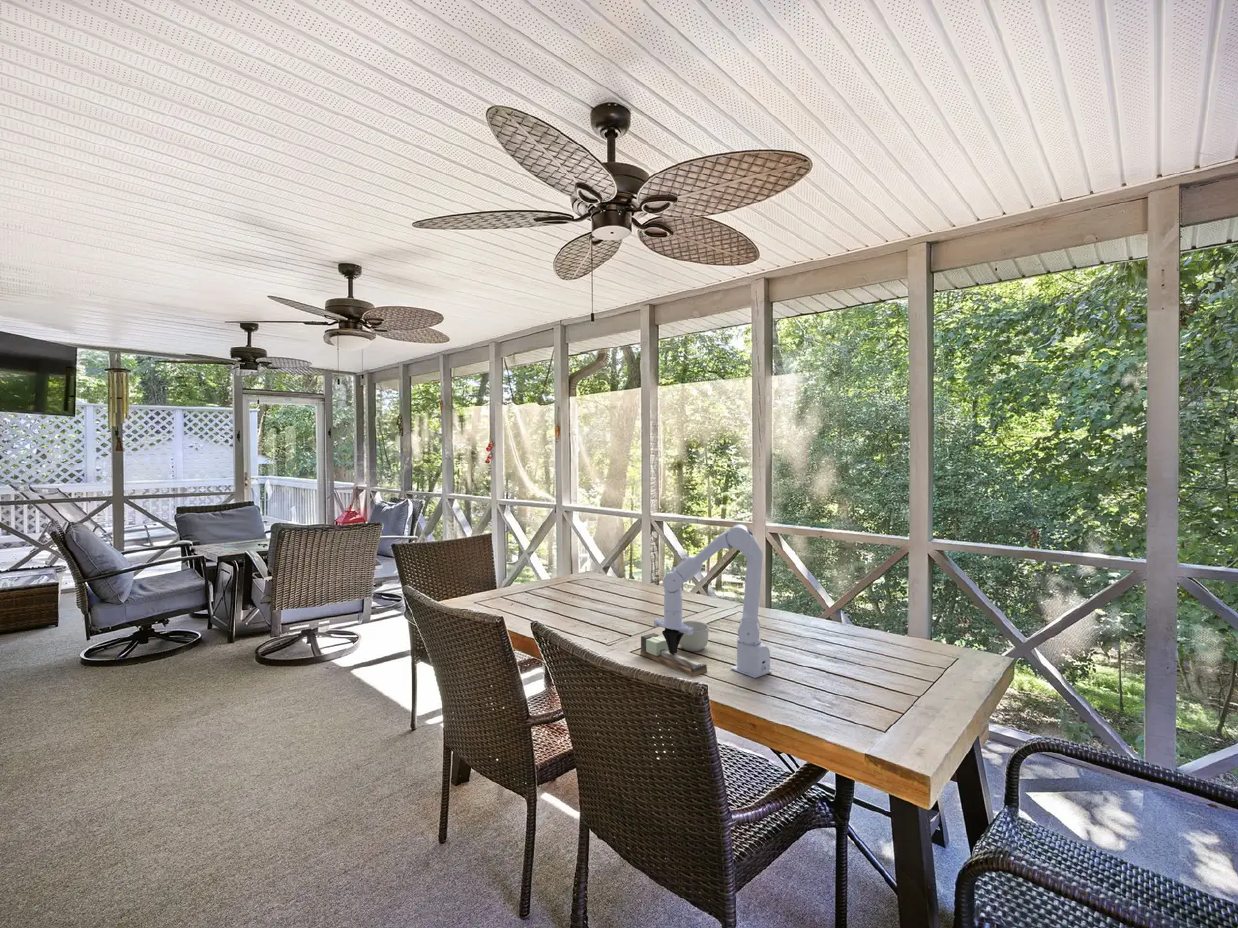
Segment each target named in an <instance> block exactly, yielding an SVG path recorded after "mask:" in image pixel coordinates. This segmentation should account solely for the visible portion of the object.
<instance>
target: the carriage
mask: <svg viewBox="0 0 1238 928" xmlns="http://www.w3.org/2000/svg"><path fill="white" fill-rule="evenodd" d="M660 650H666V651H668V652H669V649H668V645H667V642H666V639H665V637H662V636H660V635H659V636H657V637H651V638H649V639H646V652H648V653H650V654H653V655H655V656H658V655H660Z"/></svg>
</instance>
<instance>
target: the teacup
mask: <svg viewBox="0 0 1238 928" xmlns="http://www.w3.org/2000/svg"><path fill="white" fill-rule="evenodd" d="M682 622H683V624H685V625H687V626H689V627H691V628H693V634H692V635H687V634H685V633H684V634H683V636H682V638H681V640H680V642H679V645H678V646H680V647H681V648H682V649H684V650H685V651H688V652H700V651H702V650H703V649H705V647H707V645H708V642H709V631H710V630H709V629H710V625H708V624H707V623H705V622H701V621H697V620H682Z"/></svg>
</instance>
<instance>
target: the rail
mask: <svg viewBox="0 0 1238 928" xmlns="http://www.w3.org/2000/svg"><path fill="white" fill-rule="evenodd" d="M657 636H660V635H659V634H657V633H656V632H655V633H654V632H653V633H649V634H644V635H641V636H640V653H639V654H640V655H641V656H643V657H645V658H648V659H650V660H653V661H655V662H657V663H661V664H662V665H665V666H667V667H670V668H673V669H675V670H677V671H680V672H682V673H685V674H686V675H689V676H691V677H696V676H697V675H700V674H704V673H707V672H708V667H707V664H706V663H699V662H697V661H694V660H692V659H689V658H687V657H683V656H682V655H678V654H677V653H675V654H670V653H669V652H668V651H666V650H660V655H658V656H655V655H653V654H650V653H648V652H646V639H649V638H651V637H657Z"/></svg>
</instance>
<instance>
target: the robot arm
mask: <svg viewBox="0 0 1238 928" xmlns="http://www.w3.org/2000/svg"><path fill="white" fill-rule="evenodd" d="M730 547H732V548H733V549H736V550H738V551H739V552H741V554H743V556H744V557H746V570H745V571H746V572H745V583H744V595H743V596H744V597H743V609H742V616H741V619H740V620H739V625H738V626H739V627H738V629H737V636H738V637H737V638H736V665H734V666H731V667H730V669H731V671H735V672H738V673H741V674H743V675H746V676H749V677H751V678H753V679H755V678H759V677H761V676H765V675H767V674H771V673H772V669H771V666H770V665H771V652H770V649H769V647H768V646H766V645H764V643H763V642H762V638H760V630H761V623H760V620H759V607H760V606H759V605H760V594H761V581H762V569H763V557H764V553H763V549H762V548H761V545H760V543H759V542H758V540H757V539H756V537H755V535H754V532H753V531H751V529H750V528H748V527H747V526H746V525H744V524H739V523H738V524H735V525H733V526H732V527H731V528H730V529H727V530H726V531H724V532H722V533H721V534H719V535H718V536H716V537H715V538H714V539H713V540H712V541H711V542H709V543H708V545H706V546H705V547H704V548H703V549H702V550H700V552H698V553H697V554H696V555H690V554H689V555H688V556H686V555H685V556H684V557H682V559H681V562H680V563H678V564H677V565H676V566H673V567H671V571H669V572H668V573H666V574H665V575H664V577H663V579H662V586H663V588H664V590H663V592H664V594H663V619H661V618H655V619H653V627H659V628H663V629H664V630H662V631H661V633H662V635H663V638H665V639H666V642H667V645H668V649H669V653H670V654H677V652H678V649H679V646H680V645H679V642H680V640H681V638H682V636H683V634H684V633H685V634H687V635H692V634H693V628H691V627H689V626H687V625H685V624H683V593H682V592H683V591H682V590H683V588H682V586H683V585H684V583H687V582H689V581H690V580H691V579H693V578H694V576H696V575H697V574H698V573H700V572H701V571H702V569H703V568H702V566H703V564H704V563H705V562H706V561H708V560H709V559H710V558H711V557H712V556H714V555H715V554H716V553H718V552H719V551H720V550H722V549H723V550H724V549H726V550H727V549H730Z"/></svg>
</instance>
